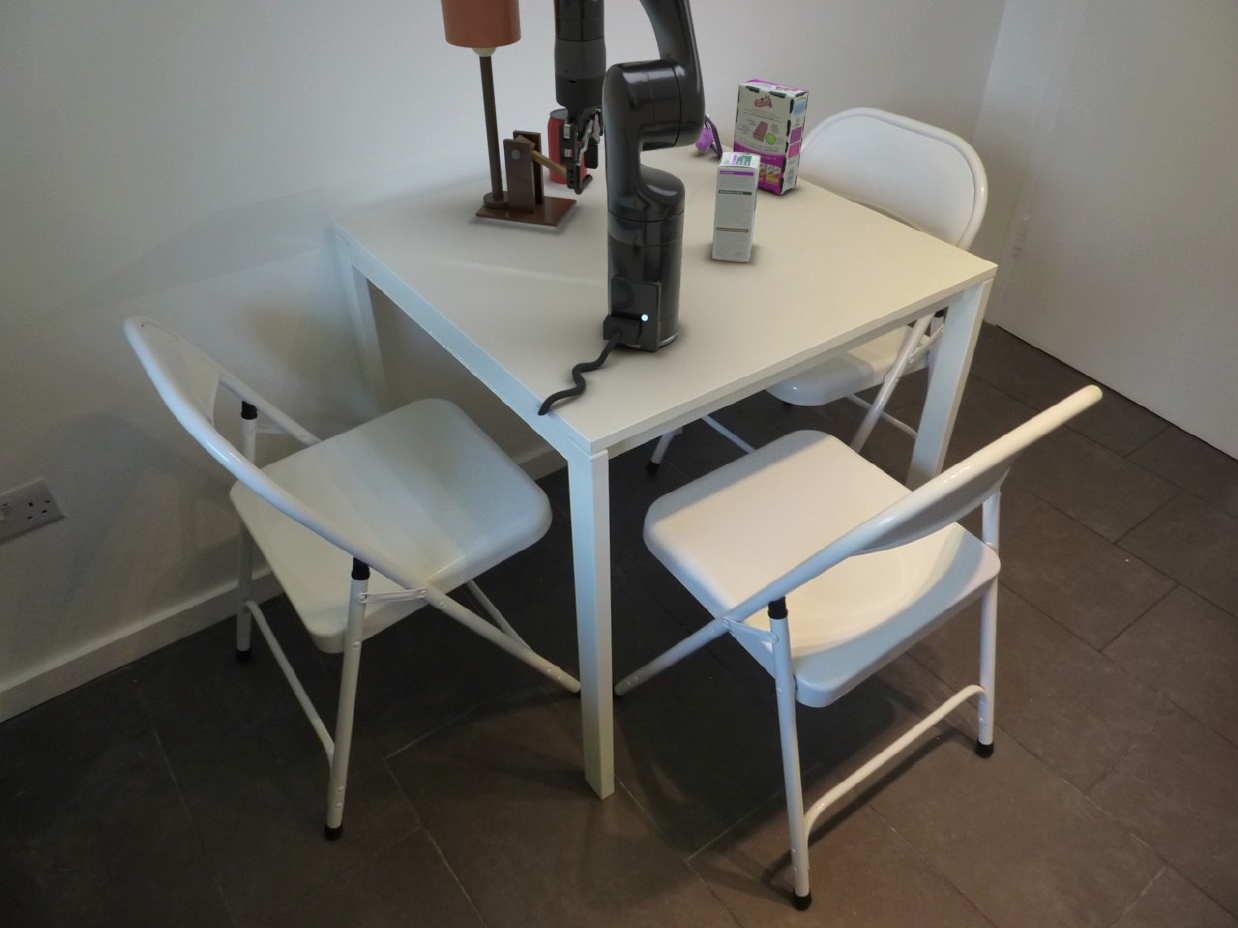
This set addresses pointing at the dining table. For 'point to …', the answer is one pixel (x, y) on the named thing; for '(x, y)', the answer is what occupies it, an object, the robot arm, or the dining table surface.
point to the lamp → (485, 63)
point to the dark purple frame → (709, 138)
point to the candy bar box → (771, 131)
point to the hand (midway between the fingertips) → (582, 178)
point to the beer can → (553, 144)
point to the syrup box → (735, 206)
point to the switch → (556, 166)
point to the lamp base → (527, 186)
